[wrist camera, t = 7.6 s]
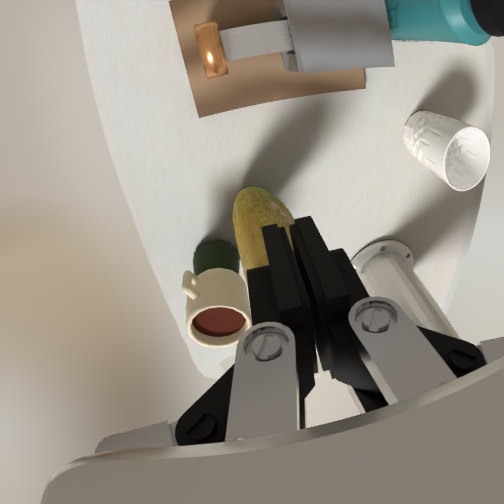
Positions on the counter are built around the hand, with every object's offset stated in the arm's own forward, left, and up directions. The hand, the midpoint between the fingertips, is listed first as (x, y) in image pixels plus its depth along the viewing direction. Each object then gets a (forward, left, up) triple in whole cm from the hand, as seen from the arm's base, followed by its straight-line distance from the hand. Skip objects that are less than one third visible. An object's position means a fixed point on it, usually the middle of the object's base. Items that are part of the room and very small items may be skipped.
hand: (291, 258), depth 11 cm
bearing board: (+8, -6, -27) cm, 29 cm away
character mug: (-18, +7, -28) cm, 34 cm away
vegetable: (-10, 0, -28) cm, 29 cm away
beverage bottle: (+10, -20, -28) cm, 35 cm away
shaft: (+8, -6, -25) cm, 27 cm away
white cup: (-6, -24, -28) cm, 37 cm away
